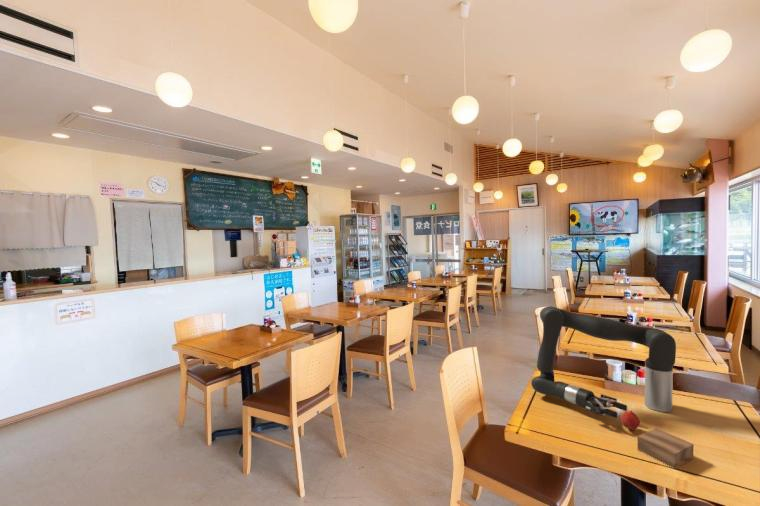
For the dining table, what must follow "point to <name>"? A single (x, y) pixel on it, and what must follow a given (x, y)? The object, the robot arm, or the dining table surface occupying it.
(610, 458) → the dining table surface
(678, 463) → the walnut block
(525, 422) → the dining table surface
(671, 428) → the dining table surface
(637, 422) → the onion
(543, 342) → the robot arm
